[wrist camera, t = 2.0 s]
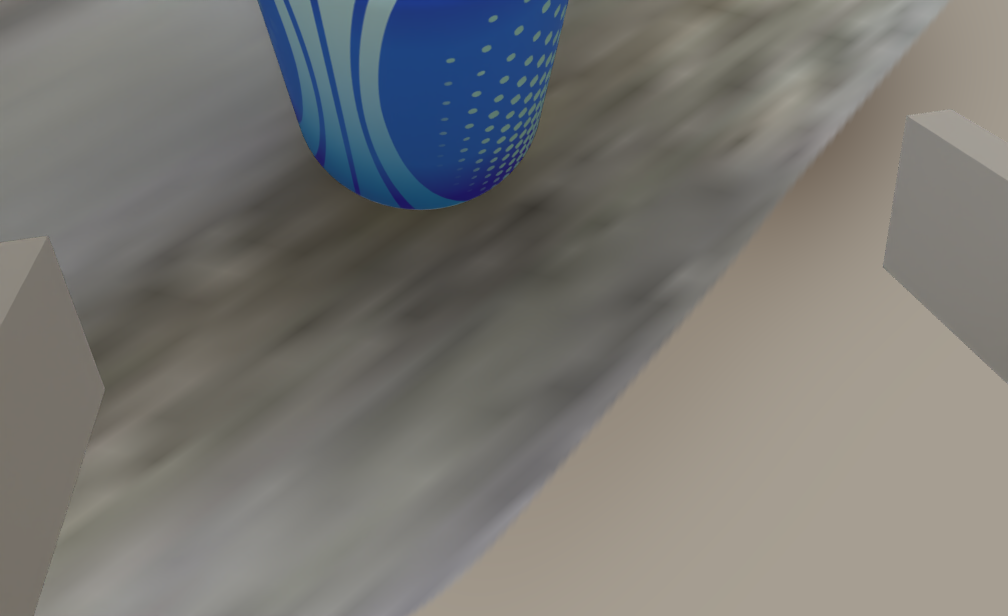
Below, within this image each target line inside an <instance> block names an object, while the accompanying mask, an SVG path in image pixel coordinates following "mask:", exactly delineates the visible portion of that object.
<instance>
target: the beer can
mask: <svg viewBox="0 0 1008 616" xmlns="http://www.w3.org/2000/svg"><path fill="white" fill-rule="evenodd" d="M568 1H569V0H258V3H259V6H260V9H261V12H262V15H263V18H264V21H265V24H266V27H267V30H268V33H269V36H270V39H271V42H272V45H273V48H274V51H275V54H276V57H277V60H278V63H279V66H280V69H281V72H282V75H283V78H284V81H285V84H286V87H287V90H288V93H289V96H290V99H291V102H292V105H293V108H294V111H295V114H296V117H297V120H298V123H299V126H300V129H301V131H302V134H303V137H304V139H305V141H306V143H307V145H308V147H309V149H310V150H311V152H312V153H313V155H314V157H315V158H316V159H317V160H318V162H319V163H320V164H321V166H322V167H323V168H324V169H325V170H326V171H327V172H328V173H329V174H330V175H331V176H332V177H333V178H334V179H336V180H337V181H338V182H339V183H340V184H342V185H343V186H345V187H346V188H348V189H349V190H351V191H352V192H354V193H356V194H358V195H359V196H361V197H364V198H366V199H368V200H370V201H373V202H376V203H379V204H382V205H385V206H390V207H394V208H400V209H408V210H432V209H440V208H446V207H450V206H454V205H458V204H461V203H464V202H467V201H469V200H472V199H474V198H476V197H478V196H480V195H482V194H484V193H485V192H487V191H489V190H490V189H492V188H493V187H495V186H496V185H497V184H499V183H500V182H501V181H502V180H503V179H505V178H506V177H507V176H508V175H509V174H510V173H511V172H512V171H513V170H514V169H515V167H516V166H517V165H518V164H519V162H520V161H521V160H522V158H523V157H524V155H525V154H526V152H527V151H528V149H529V147H530V145H531V143H532V141H533V139H534V136H535V133H536V131H537V128H538V124H539V120H540V116H541V112H542V108H543V103H544V99H545V95H546V91H547V87H548V83H549V79H550V75H551V71H552V66H553V62H554V58H555V54H556V50H557V46H558V42H559V38H560V34H561V29H562V25H563V21H564V17H565V13H566V9H567V5H568Z"/></svg>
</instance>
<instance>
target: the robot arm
mask: <svg viewBox="0 0 1008 616" xmlns="http://www.w3.org/2000/svg"><path fill="white" fill-rule="evenodd" d="M883 268H884V269H885V270H886V271H888V272H889V273H890V274H891V275H892V276H893V277H894V278H895V279H896V280H897V281H898V282H899V283H900V284H902V285H903V287H905V288H906V289H907V290H908V291H909V292H910V293H911V294H912V295H913V296H914V297H915V298H916V299H918V301H920V302H921V303H922V304H923V305H924V306H925V307H926V308H927V309H928V310H929V311H930V312H931V313H932V314H933V315H935V316H936V317H937V318H938V319H939V320H940V321H941V322H942V323H943V324H944V325H945V326H946V327H947V328H948V329H949V330H951V331H952V332H953V333H954V334H955V335H956V336H957V337H958V338H959V339H960V340H961V341H962V342H963V343H964V344H965V345H967V346H968V347H969V348H970V349H971V350H972V351H973V352H974V353H975V354H976V355H977V356H978V357H980V359H981V360H983V361H984V362H985V363H986V364H987V365H988V366H989V367H990V368H991V369H992V370H993V371H994V372H995V373H996V374H998V375H999V376H1000V377H1001V378H1002V379H1003V380H1004V381H1005V382H1006V383H1007V384H1008V142H1007V141H1005V140H1003V139H1002V138H1000V137H998V136H996V135H995V134H993V133H991V132H990V131H988V130H986V129H984V128H983V127H981V126H979V125H978V124H976V123H974V122H973V121H971V120H969V119H967V118H966V117H964V116H962V115H961V114H959V113H957V112H956V111H954V110H952V109H950V110H943V111H936V112H929V113H921V114H914V115H907V116H906V123H905V130H904V136H903V142H902V149H901V155H900V161H899V167H898V174H897V181H896V187H895V193H894V200H893V206H892V212H891V218H890V225H889V231H888V238H887V244H886V250H885V257H884V263H883ZM104 392H105V388H104V385H103V382H102V380H101V377H100V374H99V372H98V369H97V366H96V364H95V361H94V358H93V355H92V353H91V350H90V347H89V345H88V342H87V339H86V337H85V334H84V331H83V328H82V326H81V323H80V320H79V318H78V315H77V312H76V310H75V307H74V304H73V301H72V299H71V296H70V293H69V291H68V288H67V285H66V283H65V280H64V277H63V274H62V272H61V269H60V266H59V264H58V261H57V258H56V256H55V253H54V250H53V248H52V245H51V242H50V239H49V237H48V236H42V237H35V238H28V239H20V240H13V241H6V242H0V616H34V613H35V610H36V607H37V604H38V600H39V597H40V594H41V591H42V588H43V585H44V581H45V578H46V575H47V572H48V569H49V566H50V562H51V559H52V556H53V553H54V550H55V547H56V543H57V540H58V537H59V534H60V531H61V528H62V524H63V521H64V518H65V515H66V512H67V509H68V506H69V502H70V499H71V496H72V493H73V490H74V487H75V483H76V480H77V477H78V474H79V471H80V468H81V464H82V461H83V458H84V455H85V452H86V449H87V445H88V442H89V439H90V436H91V433H92V430H93V426H94V423H95V420H96V417H97V414H98V411H99V407H100V404H101V401H102V398H103V395H104Z"/></svg>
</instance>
